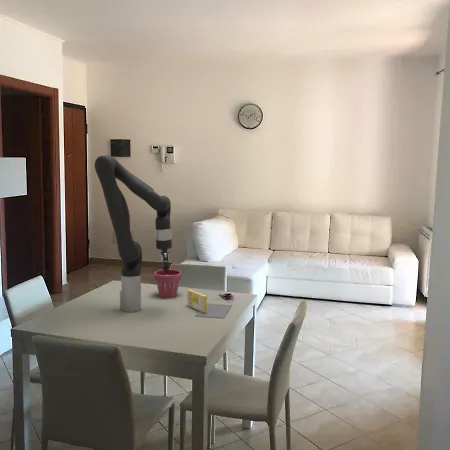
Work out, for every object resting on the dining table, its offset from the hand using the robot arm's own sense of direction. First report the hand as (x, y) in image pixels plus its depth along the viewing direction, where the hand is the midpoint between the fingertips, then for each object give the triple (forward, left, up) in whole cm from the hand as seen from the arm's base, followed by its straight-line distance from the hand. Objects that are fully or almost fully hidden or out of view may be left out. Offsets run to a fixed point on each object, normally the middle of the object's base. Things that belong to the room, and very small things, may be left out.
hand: (165, 271), depth 241 cm
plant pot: (-7, +25, -20) cm, 33 cm away
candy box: (+14, +5, -19) cm, 25 cm away
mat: (+23, +5, -19) cm, 30 cm away
